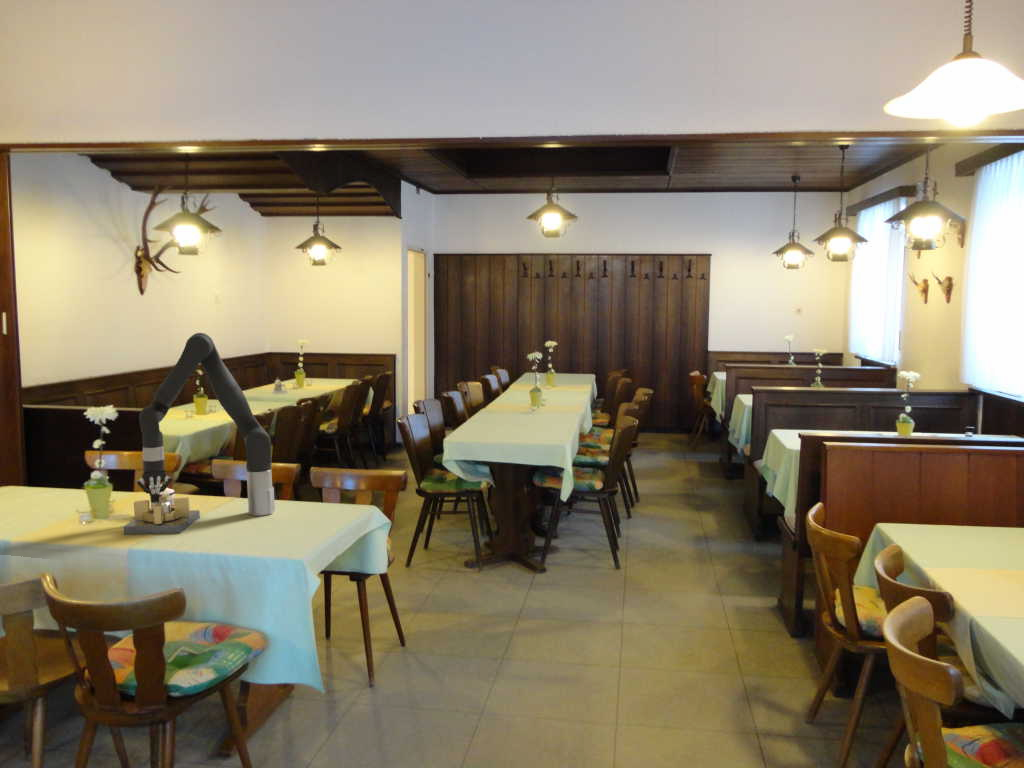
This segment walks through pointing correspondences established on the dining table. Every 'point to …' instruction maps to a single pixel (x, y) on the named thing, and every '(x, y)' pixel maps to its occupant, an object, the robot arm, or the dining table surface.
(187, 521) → the gray flat tray
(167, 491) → the teacup with lid
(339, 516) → the dining table surface
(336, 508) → the dining table surface
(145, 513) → the tan blocky ring
